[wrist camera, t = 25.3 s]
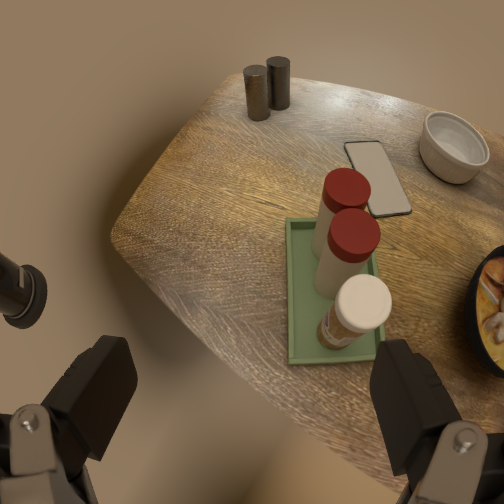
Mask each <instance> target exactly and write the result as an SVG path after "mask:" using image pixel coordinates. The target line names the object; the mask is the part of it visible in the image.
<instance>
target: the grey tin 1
mask: <svg viewBox="0 0 504 504" xmlns="http://www.w3.org/2000/svg"><path fill="white" fill-rule="evenodd" d="M243 73H244V82H245V91H246V101H247V110H248V117H249V118H250V119H252V120H254V121H263V120H265V119H267V118H268V117H269V116H270V107H269V85H268V69H267V68H266V67H265V66H262V65H251V66H248V67H246V68H245V69H244V70H243Z"/></svg>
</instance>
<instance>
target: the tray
mask: <svg viewBox="0 0 504 504" xmlns="http://www.w3.org/2000/svg"><path fill="white" fill-rule="evenodd" d="M316 222H317V218H286V225H285V232H286V266H287V325H288V366H292V365H322V364H341V363H355V362H367V361H375V357H376V353H377V348H378V345H379V343H380V341H385V331H384V323H382V324H381V325H380V326H379V327H377V328H376V329H374V330H372V331H370V332H367V333H366V334H364V335H363V336H361V337H360V338H358V339H357V340H355V341H354V342H352V343H350V344H349V345H348V346H347V347H345V348H343V349H340V350H330V349H328V348H326V347H324V346H323V345H322V344H321V343H320V341H319V340H318V337H317V327H318V324H319V322H320V321H321V319H322V318H323V317H324V316H325V314H326V313H327V311H328V310H329V308H330V307H331V306H332V305H333V303H334V302H335V299H334V300H331V299H326V298H324V297H322V296H321V295H320V294H319V293H318V292H317V291H316V289H315V286H314V276H315V273H316V270H317V267H318V264H319V259H318V258H316V256H315V255H314V254H313V251H312V240H313V236H314V231H315V226H316ZM359 274H369V275H372V276H375V277H377V278H379V276H378V269H377V262H376V255H375V250H374V252H373V253H372V255H371V256H370V258H369V259H368V261H367V263H366V264H365V266H364V267H363V269H362V270H361V272H360V273H359Z"/></svg>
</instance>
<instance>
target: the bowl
mask: <svg viewBox="0 0 504 504" xmlns="http://www.w3.org/2000/svg"><path fill="white" fill-rule="evenodd" d="M464 322H465V329H466V334H467V338H468V342H469V344H470V346H471V349H472V351H473V353H474V355H475V357H476V358H477V360H478V361H479V362H480V363H481V364H482V366H483V367H484V368H486V369H487V370H488V371H490V372H491V373H493V374H494V375H495V376H497V377H501V378H504V245H502V246H500V247H497V248H496V249H494V250H493V251H492V252H491V253H490V254H489V255H488V256H487V257H486V258H485V259H484V260H483V261H482V262H481V264H480V265H479V266H478V268H477V269H476V271H475V273H474V275H473V277H472V279H471V281H470V284H469V287H468V290H467V294H466V298H465V306H464Z"/></svg>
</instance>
